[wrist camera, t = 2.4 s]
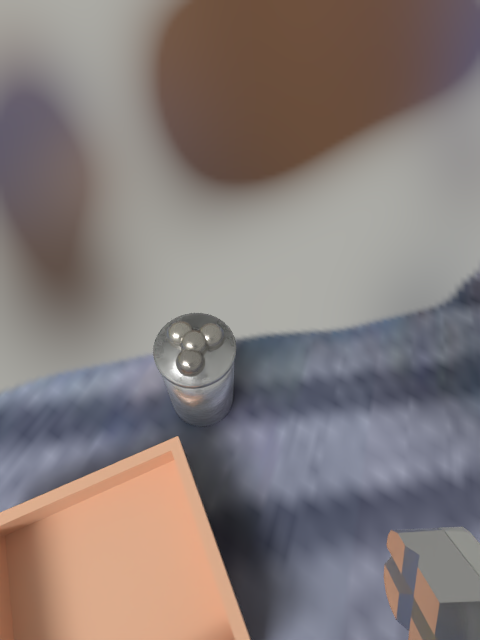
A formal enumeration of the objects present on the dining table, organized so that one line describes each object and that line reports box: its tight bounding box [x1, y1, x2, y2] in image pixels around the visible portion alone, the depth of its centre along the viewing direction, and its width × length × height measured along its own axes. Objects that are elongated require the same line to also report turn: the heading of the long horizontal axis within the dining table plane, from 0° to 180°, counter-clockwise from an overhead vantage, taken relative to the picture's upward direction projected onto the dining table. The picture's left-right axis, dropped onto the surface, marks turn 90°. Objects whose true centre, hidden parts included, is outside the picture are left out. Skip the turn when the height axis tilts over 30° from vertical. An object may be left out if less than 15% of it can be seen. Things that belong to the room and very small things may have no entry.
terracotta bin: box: [0, 436, 251, 640], centre depth 24 cm, size 15×15×4 cm
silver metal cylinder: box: [153, 313, 236, 427], centre depth 29 cm, size 6×6×11 cm
